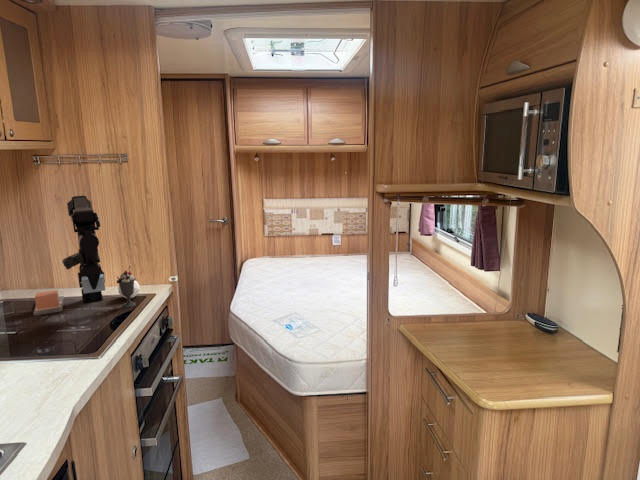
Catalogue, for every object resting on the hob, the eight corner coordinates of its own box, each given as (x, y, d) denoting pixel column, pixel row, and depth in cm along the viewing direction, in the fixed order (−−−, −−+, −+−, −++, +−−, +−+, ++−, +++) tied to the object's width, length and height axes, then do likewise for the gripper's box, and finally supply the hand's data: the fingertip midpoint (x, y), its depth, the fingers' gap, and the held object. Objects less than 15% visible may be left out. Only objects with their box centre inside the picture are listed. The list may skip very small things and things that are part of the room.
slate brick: (104, 286, 164) (103, 273, 163) (105, 290, 160) (103, 277, 159) (83, 289, 161) (81, 276, 160) (83, 293, 157) (81, 280, 156)
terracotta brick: (59, 302, 170) (57, 290, 169) (58, 306, 166) (56, 293, 165) (38, 305, 167) (36, 293, 166) (37, 309, 163) (34, 296, 162)
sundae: (141, 302, 172) (137, 265, 169) (133, 308, 165) (128, 270, 162) (125, 301, 173) (121, 264, 169) (116, 308, 166) (111, 269, 163)
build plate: (63, 298, 178) (63, 295, 177) (62, 311, 164) (61, 308, 164) (37, 302, 174) (37, 299, 173) (33, 315, 160) (33, 312, 160)
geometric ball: (125, 305, 176) (110, 292, 173) (135, 292, 183) (120, 279, 180) (137, 298, 173) (122, 284, 170) (147, 285, 180) (132, 271, 177)
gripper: (63, 242, 161) (69, 283, 165) (60, 254, 145) (67, 299, 148) (97, 239, 166) (102, 279, 170) (98, 249, 150) (104, 293, 153)
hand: (94, 287), depth 160 cm, fingers closed on slate brick, 5 cm apart
